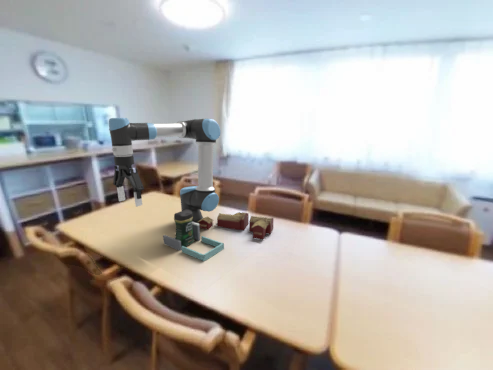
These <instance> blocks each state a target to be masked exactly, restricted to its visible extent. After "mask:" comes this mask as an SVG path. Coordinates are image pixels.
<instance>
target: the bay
mask: <svg viewBox="0 0 493 370" xmlns="http://www.w3.org/2000/svg"><path fill="white" fill-rule="evenodd" d="M192 228H193V235H194V241H198V242H200V241H201V231H200V230H201V228H199V224H198V223H195V222H192ZM162 239H163V244H164V245H165V246H167V247H169V248H172V249H174V250H176V251H178V252H182V248H181V241H179V240H177V239H176V236H175V237H172V236H169V235H166V234H163V235H162Z"/></svg>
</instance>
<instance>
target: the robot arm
mask: <svg viewBox="0 0 493 370" xmlns="http://www.w3.org/2000/svg"><path fill="white" fill-rule="evenodd" d="M108 131H109V134H110V140H111V147H112V148H111V151H112V155H113V156H114V157H113V161H114V167H113V168H114V169H113V170H114V172H113V173H114V174H113V183H112V184H113V186H115V187H116V190H117V197H118V202H122V201H126V193H125V187H124V181H125V179H127V180H128V181H129V183H130V184H131V187H132V189H133V197H134V204H135V207H140V206H143V199H142V191H144V190H145V187H144V185H143V182H142V180H141V178H140V175H139V172H138V168H137V167H133V166H132V165H134V164H135V156H134V151H133V149H134V148H133V141H151V140H155V139H157V138H158V139H159V138H176V137H177V138H178V139H179V138H180V139H192V140H195V143H196V144H197V146H198V151H197V152H198V154H197V155H198V157H197V158H198V159H197V162H198V164H197V165H198V166H197V171H198V172H197V174H198V175H197V176H198V178H197V180H198V181H197V183H198V185H195V186H194V185H193V186H185V187H183V188H182V187H181V188H180V191H179V197H180V209H181V211H183V210H186V209H187V210H191V211H192V215H193V219H192V222H195V223H198V224H199V222H198V221H199V220H201V219H203V218H204V217H203V214H202V211H203V212H212V211H214V210H216V208H217V207H218V204H219V202H220V197H219V195H218V193H216V188H215V187H214V184H213V181H214V179H213V177H214V174H213V173H214V146H215V145H216V144H217V140H218V139H219V138H220V136H221V128H220V125H219V123H218V122H217V120H215V119H213V118H199V119H198V118H197V119H196V118H194V119H193V118H192V119H187V120H179V121H177V122H154V123H153V122H130V120H129V118H127V117H110V118H109V119H108ZM181 211H180V212H181Z"/></svg>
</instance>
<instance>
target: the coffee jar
mask: <svg viewBox="0 0 493 370" xmlns="http://www.w3.org/2000/svg"><path fill="white" fill-rule="evenodd" d="M173 216H174V217H173V221H174V222H175V237H176V239H177V240H179V241H181V247H182V246H184V247H187V246H189V245H192V244H193V243H194V242H195V239H194V235H193V228H192V219H193V215H192V211H191V210H187V209H186V210H183V211H179V212H175V213H174V214H173Z"/></svg>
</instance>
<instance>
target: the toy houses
mask: <svg viewBox="0 0 493 370" xmlns="http://www.w3.org/2000/svg"><path fill="white" fill-rule="evenodd" d="M213 221H214V219H213V218H211V217H209V216H206V217H203V219H201V220H199V221H198V222H199V228H200V229H204V230H210V229H211V228H212V227H213V225H214V223H213ZM216 221H217V223H216V225H217V228H218V227H219V228H226V229H231V230H238V231H245V230H246V229H247V227H249V232H252V238H253V239H259V240H264V239H265V236H266V235H267V234H269V235H271V234H272V233H273V229H274V217H265V216H257V215H250V219H249V213H248V212H240V211H239V212H236V213H234V214H230V213H219V214H218V216H217V218H216ZM248 225H249V226H248Z"/></svg>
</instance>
